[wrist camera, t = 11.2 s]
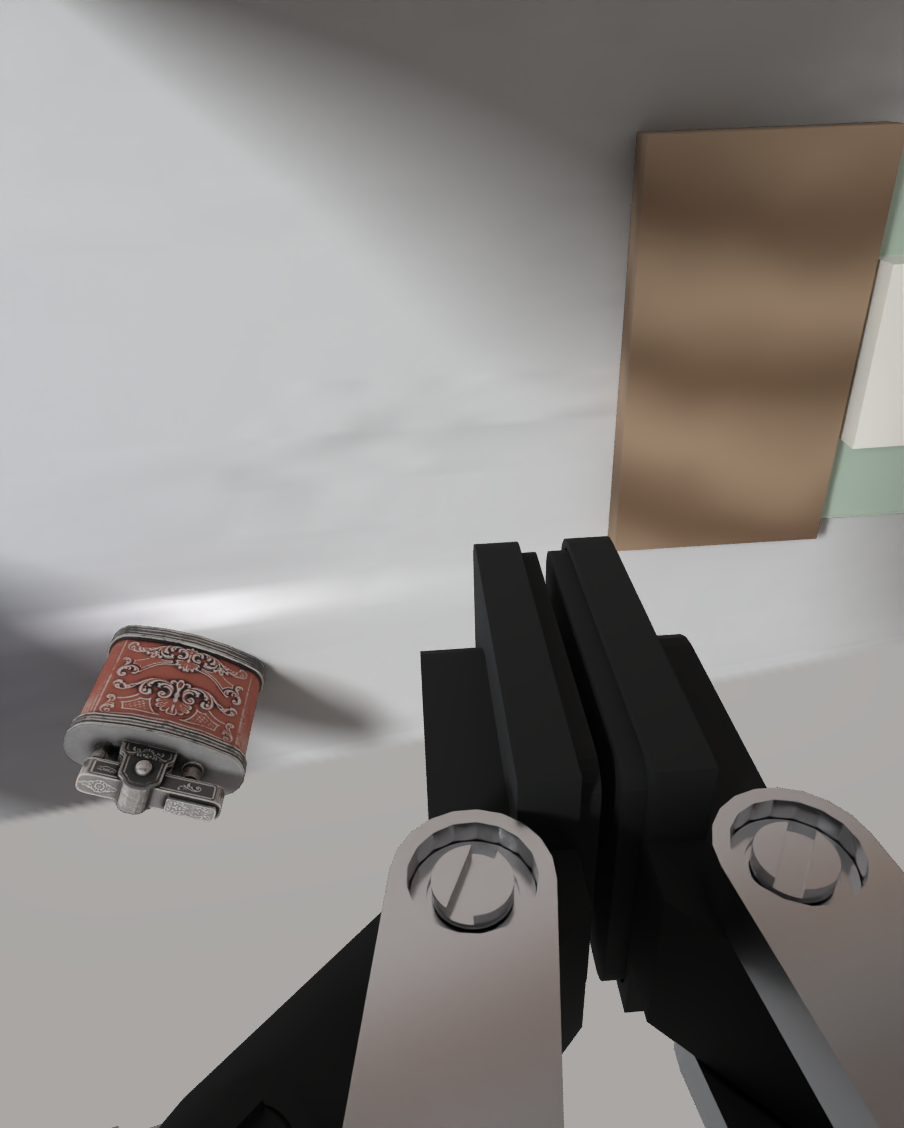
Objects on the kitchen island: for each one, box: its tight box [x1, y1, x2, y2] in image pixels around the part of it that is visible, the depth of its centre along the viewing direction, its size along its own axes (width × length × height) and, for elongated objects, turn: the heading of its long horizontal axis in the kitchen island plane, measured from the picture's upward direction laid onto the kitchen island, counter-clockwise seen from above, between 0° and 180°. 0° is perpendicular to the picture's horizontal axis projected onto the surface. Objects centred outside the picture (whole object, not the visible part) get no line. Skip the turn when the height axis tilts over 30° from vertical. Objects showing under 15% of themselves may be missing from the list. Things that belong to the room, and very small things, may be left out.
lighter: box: [63, 625, 266, 821], centre depth 39 cm, size 8×3×10 cm, turn 68°
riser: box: [608, 121, 904, 551], centre depth 36 cm, size 18×10×2 cm, turn 2°
